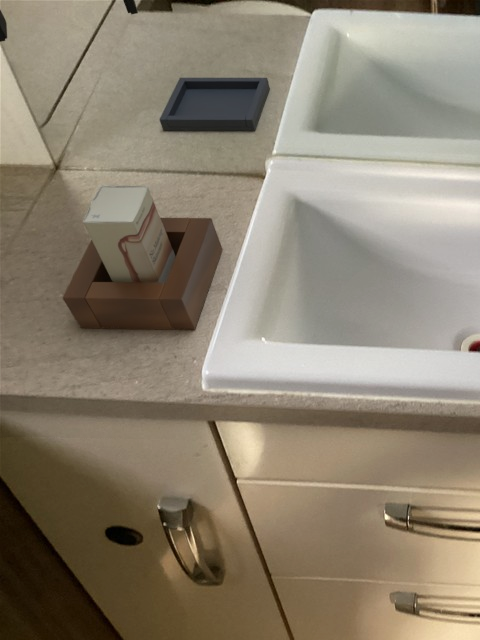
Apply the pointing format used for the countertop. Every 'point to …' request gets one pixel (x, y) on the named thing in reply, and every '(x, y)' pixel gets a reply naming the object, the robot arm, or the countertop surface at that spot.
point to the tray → (215, 104)
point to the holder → (149, 284)
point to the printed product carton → (129, 234)
